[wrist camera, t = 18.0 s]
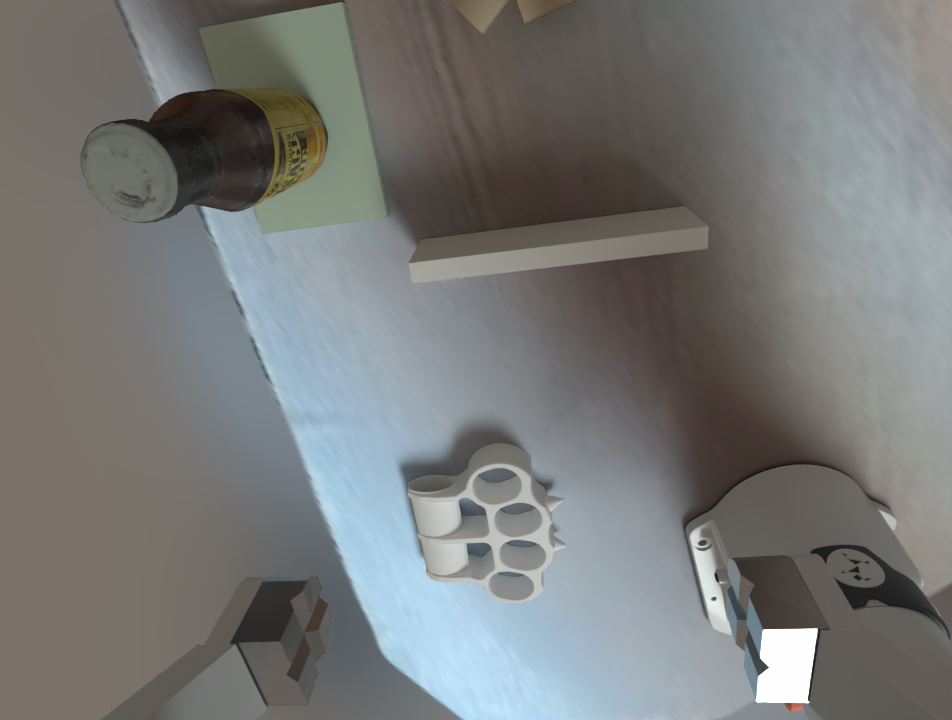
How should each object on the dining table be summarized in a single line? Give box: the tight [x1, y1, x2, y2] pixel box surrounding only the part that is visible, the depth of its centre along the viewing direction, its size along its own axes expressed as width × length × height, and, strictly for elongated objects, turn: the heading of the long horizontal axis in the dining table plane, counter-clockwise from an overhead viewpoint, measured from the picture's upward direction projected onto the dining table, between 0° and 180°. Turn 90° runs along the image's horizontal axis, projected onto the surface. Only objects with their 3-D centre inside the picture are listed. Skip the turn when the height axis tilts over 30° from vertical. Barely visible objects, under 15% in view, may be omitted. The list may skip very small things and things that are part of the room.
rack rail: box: [408, 206, 709, 284], centre depth 42 cm, size 2×20×6 cm, turn 99°
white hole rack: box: [408, 443, 568, 604], centre depth 57 cm, size 3×18×15 cm
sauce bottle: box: [81, 88, 328, 223], centre depth 32 cm, size 7×6×20 cm
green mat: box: [198, 2, 390, 234], centre depth 42 cm, size 14×10×1 cm
